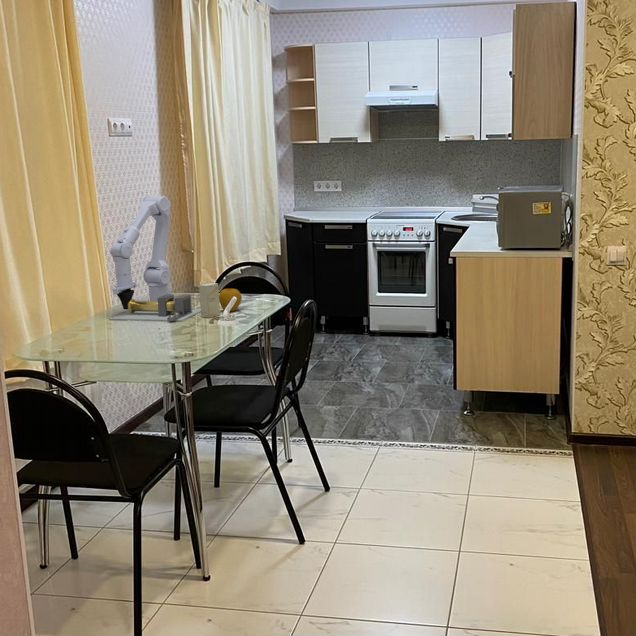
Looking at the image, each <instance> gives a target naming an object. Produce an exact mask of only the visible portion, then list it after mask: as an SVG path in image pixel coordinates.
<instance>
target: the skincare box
mask: <svg viewBox="0 0 636 636" xmlns="http://www.w3.org/2000/svg"><path fill="white" fill-rule="evenodd" d="M198 291H199V292H198V293H199V302H200V310H201V313H200V317H201V318H205V317H208V318H207V319H210V317H211V318H215V317H219V316H221V304H220V301H219V294H220V291H219V283H217V282H215V283H214V282H207V283H204V284H203V283H202V284H199V285H198ZM218 315H219V316H218ZM214 316H215V317H214Z"/></svg>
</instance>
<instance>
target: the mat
mask: <svg viewBox="0 0 636 636" xmlns="http://www.w3.org/2000/svg"><path fill="white" fill-rule="evenodd" d="M199 312H201V309H192V313H190V314H188V315H186V316H184V317H182V318H180V319H177V320H175V321H174V322H180V321H182V322H184V321H186V320H188V319H190V318H192V317H194V316H196V315H198V314H197V313H199ZM175 313H176V312H175ZM195 314H196V315H195ZM199 314H200V313H199ZM171 315H174V313H173V314H171ZM193 315H194V316H193ZM191 316H192V317H191ZM189 317H190V318H189ZM167 318H169V316H166V317H162V316H159V312H139V311H135V312H134V313H130V312H129V310H126V311H125V312H123V313H120V314H117V315H115V316H112V317H110V318H109V319H108V321H127V320H141V322H169V321H168V320H167ZM187 318H188V319H187ZM185 319H186V320H185ZM155 320H156V321H155ZM161 320H162V321H161ZM183 320H184V321H183Z"/></svg>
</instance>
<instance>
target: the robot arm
mask: <svg viewBox="0 0 636 636" xmlns="http://www.w3.org/2000/svg"><path fill="white" fill-rule="evenodd" d="M139 205H140V208H139V209H138V211H137V214H136V216H135V218H134V219H133V222H132V223H131V225H130V226H126V227H125V228H124V230H123V232H122V234H121V236H120V237H119V238H118V240H117V242H115V243H113V244H112V246H111V247H110V250H109V253H110V255H111V257H112V259H113V262H114V268H115V278H116V285H114V287H113V288H112V294H113V295H117V297H118V298H119V300H120V303H121V305H122V308H123V310H126V311H129V310H128V302H129V300H131V299H133V296H134V293H135V290H134V289H135V288H137V287H138V286H137V281H135V282H133V277H132V276H133V275H132V269H131V256H132V255H133V252H134V251H133V250H134V245H135V243H136V242H137V241H138V239H139V237H140V235H141V233H140V230H141V228H143V226H144V225H145V223H146V222H147V220H148V219H149V218H150V217H152V218H153V220H154V221H155V226H154V227H155V228H154V234H153V235H154V236H153V244H152V249H151V250H152V253H151V258H150V261H149V262H148V263H146V267H145V270H144V272H143V281H144V282H145V283H146V284H147V285H146V286H148V293H149V294H148V295H149V296H148V297H149V301H158V300H157V298H159V297H161V296H164V295H166V294H172V289H171V286H170V285H169V282H170V281H171V273H170V265H168V263H166V258H167V250H168V243H169V242H168V241H169V236H170V235H169V234H170V225H171V205H172V203H171V202H170V200H169V199H168V197H167V196H166V195H161V196H159V195H158V196H157V195H156V196H155V195H154V196H151V195H145V196H144V197H143V198H142V200H141V202H140V203H139Z"/></svg>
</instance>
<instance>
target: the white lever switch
mask: <svg viewBox="0 0 636 636" xmlns="http://www.w3.org/2000/svg"><path fill="white" fill-rule="evenodd" d="M236 300H237V298H236V297H235V296H234V297H233V298H232V299H231V301H230V303H229V304H228V306H227V307H226V309H225V310H224V309H223V314H222V313H221V314H222V318H220V319H218V321H217V324H218V325H217V326H219V325H221V326H220V327H232V326H237V325H238V324H240V322H239V320H238V318H236V317H231V314H230V312H229V311H230V310H231V308H232V307H233V305H234V303H235V302H236Z"/></svg>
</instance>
